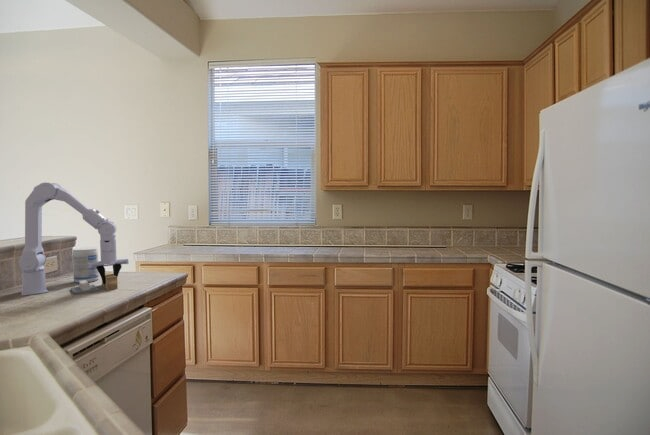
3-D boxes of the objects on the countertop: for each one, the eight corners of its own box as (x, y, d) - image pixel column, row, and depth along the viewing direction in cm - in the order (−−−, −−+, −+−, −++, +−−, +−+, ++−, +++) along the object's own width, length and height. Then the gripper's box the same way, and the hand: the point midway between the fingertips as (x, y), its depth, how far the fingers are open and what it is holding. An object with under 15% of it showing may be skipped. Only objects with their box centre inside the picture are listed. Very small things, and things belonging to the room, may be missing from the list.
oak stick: (102, 284, 159) (101, 273, 159) (111, 283, 161) (110, 272, 161) (108, 290, 150) (107, 278, 150) (117, 288, 152) (117, 276, 152)
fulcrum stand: (70, 289, 151) (70, 281, 151) (93, 286, 156) (93, 278, 156) (74, 294, 143) (74, 286, 143) (98, 290, 149) (98, 283, 148)
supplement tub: (94, 282, 163) (92, 249, 162) (69, 283, 161) (68, 250, 160) (102, 278, 172) (100, 246, 171) (79, 279, 170) (77, 247, 169)
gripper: (89, 253, 147) (91, 287, 148) (129, 250, 157) (130, 281, 157) (86, 251, 152) (88, 284, 153) (125, 248, 162) (126, 279, 163)
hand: (109, 282), depth 156 cm, fingers closed on oak stick, 3 cm apart
